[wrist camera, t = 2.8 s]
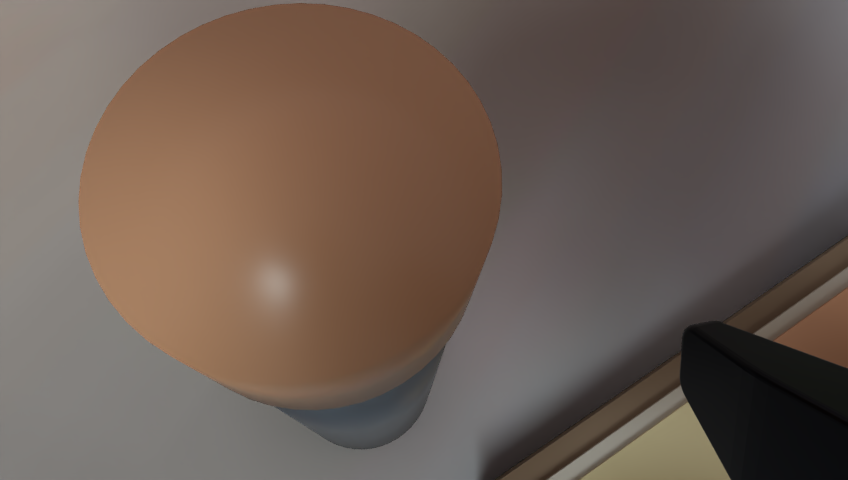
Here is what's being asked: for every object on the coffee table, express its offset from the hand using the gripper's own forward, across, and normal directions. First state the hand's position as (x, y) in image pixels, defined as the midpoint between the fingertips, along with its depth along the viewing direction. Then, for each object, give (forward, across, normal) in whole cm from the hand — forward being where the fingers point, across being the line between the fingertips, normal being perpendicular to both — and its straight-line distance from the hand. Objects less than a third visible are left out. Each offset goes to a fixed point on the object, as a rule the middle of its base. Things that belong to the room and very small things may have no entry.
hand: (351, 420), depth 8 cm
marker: (+8, 0, +5) cm, 10 cm away
